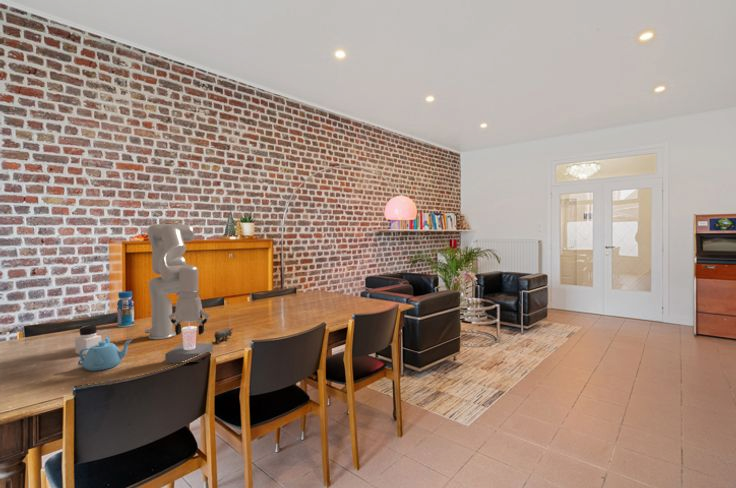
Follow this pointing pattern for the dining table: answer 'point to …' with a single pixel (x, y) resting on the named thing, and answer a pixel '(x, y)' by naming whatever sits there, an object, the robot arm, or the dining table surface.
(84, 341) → the medicine bottle
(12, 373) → the dining table surface
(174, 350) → the plinth
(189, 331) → the beverage cup
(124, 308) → the beverage bottle
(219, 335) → the rhino figurine
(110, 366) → the teapot
